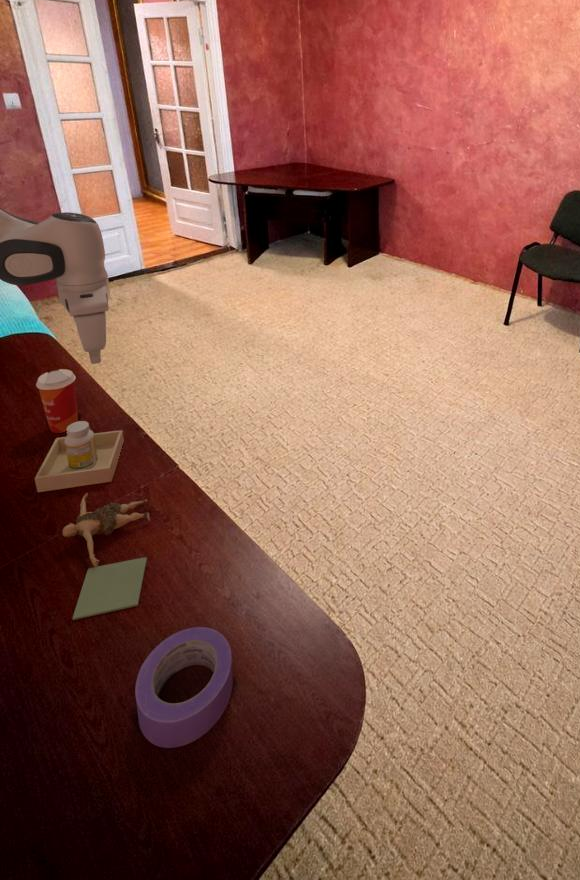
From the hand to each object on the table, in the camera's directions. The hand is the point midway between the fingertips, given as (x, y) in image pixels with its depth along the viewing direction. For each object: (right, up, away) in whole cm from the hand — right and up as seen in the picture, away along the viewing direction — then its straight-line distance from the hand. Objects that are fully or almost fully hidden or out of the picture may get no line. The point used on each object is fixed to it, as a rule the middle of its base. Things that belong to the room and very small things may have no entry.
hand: (93, 352), depth 103 cm
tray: (-4, -25, +3) cm, 25 cm away
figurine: (+11, -31, -13) cm, 36 cm away
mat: (+18, -35, -23) cm, 46 cm away
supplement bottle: (-4, -25, +2) cm, 25 cm away
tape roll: (+37, -41, -37) cm, 66 cm away
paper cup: (-16, -20, +14) cm, 30 cm away
